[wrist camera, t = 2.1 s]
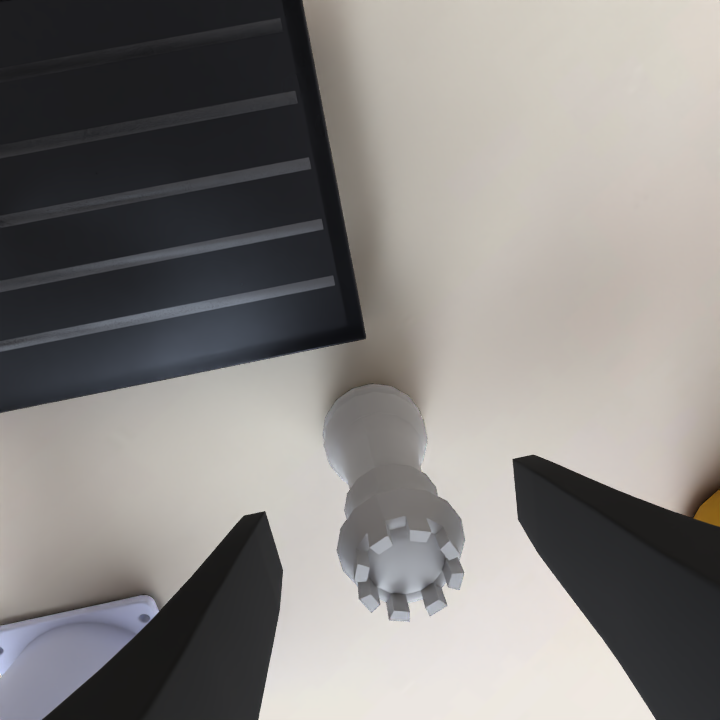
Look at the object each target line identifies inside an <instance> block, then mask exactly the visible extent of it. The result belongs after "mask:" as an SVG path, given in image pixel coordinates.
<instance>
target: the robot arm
mask: <svg viewBox="0 0 720 720" xmlns="http://www.w3.org/2000/svg"><path fill="white" fill-rule="evenodd" d="M513 469H514V480H515V491H516V502H517V513H518V520H519V522H520V523H521V525H522V527H523V529H524V530H525V532H526V534H527V536H528V537H529V539H530V541H531V542H532V544H533V546H534V547H535V549H536V551H537V552H538V554H539V555H540V557H541V558H542V559H543V561H544V562H545V563H546V565H547V566H548V567H549V569H550V570H551V571H552V573H553V574H554V575H555V577H556V578H557V579H558V581H559V582H560V583H561V585H562V586H563V587H564V589H565V590H566V591H567V593H568V594H569V595H570V597H571V598H572V599H573V601H574V602H575V603H576V605H577V606H578V607H579V608H580V610H581V611H582V612H583V614H584V615H585V616H586V618H587V619H588V620H589V622H590V623H591V624H592V626H593V627H594V628H595V630H596V631H597V632H598V634H599V635H600V636H601V637H602V639H603V640H604V642H605V643H606V644H607V646H608V647H609V649H610V650H611V651H612V653H613V654H614V656H615V657H616V659H617V660H618V661H619V663H620V664H621V666H622V667H623V669H624V671H625V672H626V674H627V675H628V677H629V678H630V680H631V681H632V683H633V685H634V686H635V688H636V689H637V691H638V692H639V694H640V695H641V697H642V698H643V700H644V702H645V703H646V705H647V706H648V708H649V709H650V711H651V712H652V714H653V716H654V717H655V719H656V720H720V527H719V526H715V525H712V524H709V523H706V522H703V521H700V520H697V519H694V518H690V517H687V516H685V515H682V514H679V513H676V512H673V511H670V510H667V509H665V508H662V507H659V506H657V505H654V504H651V503H649V502H646V501H644V500H641V499H638V498H636V497H633V496H631V495H628V494H626V493H623V492H621V491H618V490H616V489H613V488H611V487H609V486H606V485H604V484H601V483H599V482H597V481H594V480H592V479H590V478H587V477H585V476H583V475H581V474H578V473H576V472H574V471H571V470H569V469H567V468H565V467H562V466H560V465H558V464H555V463H553V462H551V461H548V460H546V459H544V458H541V457H538V456H536V455H529V456H525V457H520V458H515V459H513ZM282 575H283V569H282V565H281V562H280V559H279V555H278V552H277V549H276V545H275V542H274V539H273V535H272V532H271V529H270V526H269V522H268V519H267V516H266V512H265V511H264V512H259V513H255V514H250V515H245V516H243V517H242V518H241V520H240V521H239V522H238V523H237V524H236V525H235V526H234V527H233V529H232V530H231V531H230V532H229V533H228V534H227V536H226V537H225V538H224V539H223V540H222V542H221V543H220V544H219V545H218V546H217V547H216V549H215V550H214V551H213V552H212V553H211V555H210V556H209V557H208V558H207V559H206V560H205V561H204V563H203V564H202V565H201V566H200V567H199V568H198V570H197V571H196V572H195V573H194V574H193V575H192V577H191V578H190V579H189V580H188V581H187V582H186V583H185V584H184V585H183V586H182V587H181V588H180V590H179V591H178V592H177V593H176V594H175V595H174V596H173V597H172V598H171V599H170V600H169V601H168V603H167V604H166V605H165V606H164V607H163V608H162V609H161V610H160V611H159V610H158V607H157V605H156V603H155V601H154V599H153V598H152V597H150V596H147V595H141V596H136V597H131V598H127V599H122V600H118V601H113V602H108V603H104V604H99V605H94V606H90V607H85V608H81V609H76V610H71V611H67V612H62V613H57V614H53V615H48V616H44V617H39V618H34V619H30V620H25V621H21V622H16V623H11V624H7V625H2V626H0V674H1V675H2V677H1V678H0V720H258V718H259V713H260V708H261V703H262V698H263V693H264V688H265V682H266V677H267V672H268V667H269V662H270V657H271V652H272V647H273V642H274V637H275V632H276V626H277V621H278V616H279V610H280V600H281V589H282Z"/></svg>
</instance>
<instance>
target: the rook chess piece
mask: <svg viewBox="0 0 720 720" xmlns="http://www.w3.org/2000/svg"><path fill="white" fill-rule="evenodd" d="M323 438H324V448H325V451H326V455H327V458H328V462H329V464H330V466H331V467H332V468H333V469H334V471H335V472H336V473H337V474H338V475H339V477H340V478H341V479H342V480H343V481H345V482H346V483H347V484H348V485H349V488H350V490H349V492H348V493H347V498H346V504H345V509H344V511H345V514H346V518H347V520H346V521H345V523H344V524H343V526H342V527H341V529H340V535H339V541H338V546H337V553H338V556H339V559H340V562H341V566H342V569H343V571H344V572H345V573H346V574H347V575H348V577H349V578H350V579H351V580H352V581H353V582H354V583H355V584H356V585H357V586H358V593H359V600H360V601H361V602H362V603H363V604H364V605H365V606H366V607H367V608H368V610H369V611H370V612H371V613H372V612H373V611H374V610H375V609H376V608H377V607H378V606H379V605H380V601H379V599H380V600H382V601H385V602H386V603H387V610H388V616H389V620H391V621H407V622H410V611H409V607H408V603H410V602H414V601H418V600H422V599H423V601H424V604H425V608H426V610H427V612H428V614H429V616H432V615H433V614H435V613H436V612H438V611H440V610H441V609H443V608H444V607H446V606H447V603H446V600H445V597H444V594H443V591H442V587H443V586H444V584H445V583H447V585H448V587H449V588H452V589H456V590H460V587H461V583H462V579H463V576H464V571H463V569H462V566H461V564H460V562H459V560H460V556H461V553H462V549H463V545H464V542H465V537H464V532H463V527H462V521H461V518H460V517H459V516H458V514H457V513H456V512H455V510H454V509H453V508H452V506H451V505H450V504H449V503H448V501H446V500H444V499H442V498H440V497H438V495H437V490H436V487H435V485H434V484H433V483H432V482H431V480H430V479H429V478H428V476H427V475H426V474H425V473H423V472H421V463H422V461H423V459H424V455H425V450H426V446H427V434H426V429H425V424H424V420H423V418H422V417H421V413H420V410H419V409H418V408H417V406H416V405H415V403H414V402H413V401H412V399H411V398H410V397H409V396H408V395H406V394H405V393H403V392H401V391H400V390H398V389H396V388H394V387H393V386H386V385H379V384H369V385H365V386H361V387H357V388H352V389H351V390H350V391H348V392H347V393H345V394H344V395H343V396H341V397H340V398H338V399H337V400H336V401H335V402H334V404H333V406H332V407H331V409H330V410H329V412H328V414H327V415H326V417H325V423H324V430H323Z"/></svg>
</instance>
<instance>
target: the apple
mask: <svg viewBox="0 0 720 720" xmlns="http://www.w3.org/2000/svg"><path fill="white" fill-rule="evenodd" d="M694 519H697V520H700V521H703V522H706V523H709V524H712V525H715V526H719V527H720V489H719V490H718V491H717V492H716V493H714V494H713V495H712V496H711V497H710V498H709V499H708V500H706V501H705V502H704V503H703V504H702V505H701V506H700V507H699V509H698V511H697V513H696V515H695V516H694Z"/></svg>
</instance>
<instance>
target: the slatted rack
mask: <svg viewBox="0 0 720 720" xmlns="http://www.w3.org/2000/svg"><path fill="white" fill-rule="evenodd" d="M363 339H366V333H365V328H364V322H363V317H362V312H361V306H360V301H359V296H358V291H357V285H356V280H355V275H354V270H353V264H352V259H351V254H350V249H349V243H348V238H347V233H346V228H345V222H344V217H343V212H342V207H341V201H340V196H339V191H338V185H337V180H336V175H335V170H334V164H333V159H332V154H331V149H330V143H329V138H328V133H327V128H326V122H325V117H324V112H323V107H322V101H321V96H320V91H319V85H318V80H317V75H316V70H315V64H314V59H313V54H312V49H311V43H310V38H309V33H308V28H307V22H306V17H305V12H304V7H303V1H302V0H0V413H3V412H8V411H13V410H18V409H23V408H27V407H32V406H37V405H42V404H47V403H52V402H57V401H62V400H67V399H72V398H77V397H82V396H87V395H92V394H97V393H102V392H106V391H111V390H116V389H121V388H126V387H131V386H136V385H141V384H146V383H151V382H156V381H161V380H166V379H171V378H176V377H181V376H186V375H190V374H195V373H200V372H205V371H210V370H215V369H220V368H225V367H230V366H235V365H240V364H245V363H250V362H255V361H260V360H265V359H270V358H274V357H279V356H284V355H289V354H294V353H299V352H304V351H309V350H314V349H319V348H324V347H329V346H334V345H339V344H344V343H349V342H353V341H358V340H363Z"/></svg>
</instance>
